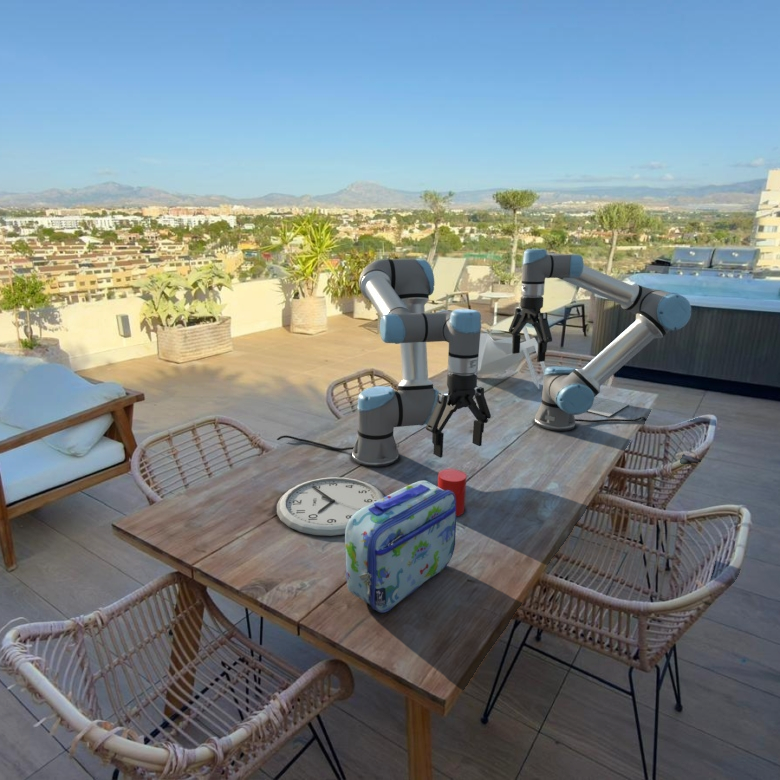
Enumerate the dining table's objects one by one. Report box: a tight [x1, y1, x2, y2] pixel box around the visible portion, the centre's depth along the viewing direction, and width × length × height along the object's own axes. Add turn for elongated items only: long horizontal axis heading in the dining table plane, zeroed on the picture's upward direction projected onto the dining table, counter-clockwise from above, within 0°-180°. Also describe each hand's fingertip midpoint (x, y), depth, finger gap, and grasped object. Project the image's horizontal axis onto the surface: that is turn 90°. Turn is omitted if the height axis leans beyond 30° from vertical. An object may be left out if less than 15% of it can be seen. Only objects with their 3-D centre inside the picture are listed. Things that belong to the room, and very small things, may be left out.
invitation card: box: [587, 396, 629, 418], centre depth 226 cm, size 21×1×15 cm
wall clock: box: [276, 476, 386, 537], centre depth 142 cm, size 30×2×30 cm
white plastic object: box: [476, 306, 547, 390], centre depth 260 cm, size 37×45×31 cm
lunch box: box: [344, 480, 457, 614], centre depth 109 cm, size 26×11×21 cm, turn 135°
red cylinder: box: [437, 468, 468, 517], centre depth 140 cm, size 8×8×10 cm
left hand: (457, 449), depth 138 cm, fingers open, 13 cm apart
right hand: (527, 357), depth 183 cm, fingers open, 13 cm apart
